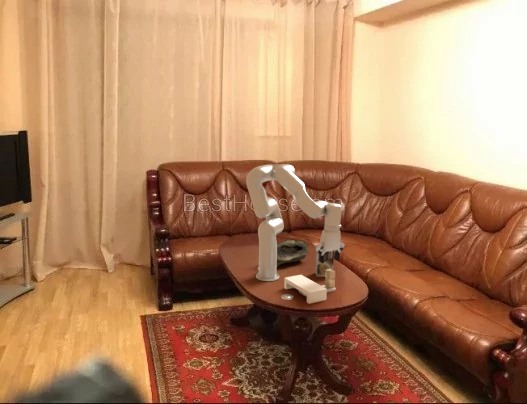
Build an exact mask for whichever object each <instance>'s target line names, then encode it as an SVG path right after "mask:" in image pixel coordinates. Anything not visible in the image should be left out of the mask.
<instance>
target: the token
mask: <svg viewBox="0 0 527 404" xmlns="http://www.w3.org/2000/svg"><path fill="white" fill-rule="evenodd" d="M280 297H281V299H282V300H285V301H291V300H293V299H294V295H293V294H289V293H284V294H282V295H281V296H280Z"/></svg>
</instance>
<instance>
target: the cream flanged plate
mask: <svg viewBox="0 0 527 404" xmlns="http://www.w3.org/2000/svg"><path fill="white" fill-rule="evenodd" d="M283 285H284V287H283V288H284V290H289V289H296V290H298V292H299V291H301V292H303V293H304V294H306V295H307V297H306V303H307V304H309V305H310V304H314V303H319V302H323V301H327V298H328V297H327V295H328V292H327V289H326V288H324V287H322V286H323V285H320V284H318V283H317V282H315V281H314V280H311V279H310V278H308V277H306V276H304V275H303V274H297V275H292V276H287V277H286V276H285V277H284V283H283Z"/></svg>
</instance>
